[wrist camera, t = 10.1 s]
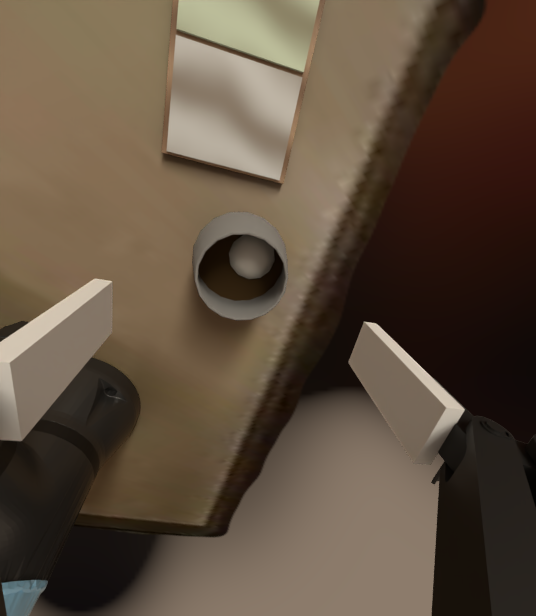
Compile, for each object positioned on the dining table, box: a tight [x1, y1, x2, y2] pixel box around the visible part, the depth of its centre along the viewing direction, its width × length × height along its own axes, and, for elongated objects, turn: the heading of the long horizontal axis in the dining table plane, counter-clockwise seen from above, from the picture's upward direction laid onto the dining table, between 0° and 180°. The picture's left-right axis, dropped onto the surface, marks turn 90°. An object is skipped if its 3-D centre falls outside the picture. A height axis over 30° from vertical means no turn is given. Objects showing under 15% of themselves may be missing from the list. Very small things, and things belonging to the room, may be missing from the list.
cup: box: [192, 212, 288, 320], centre depth 27 cm, size 10×9×10 cm
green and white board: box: [162, 0, 325, 184], centre depth 24 cm, size 18×12×1 cm, turn 167°
